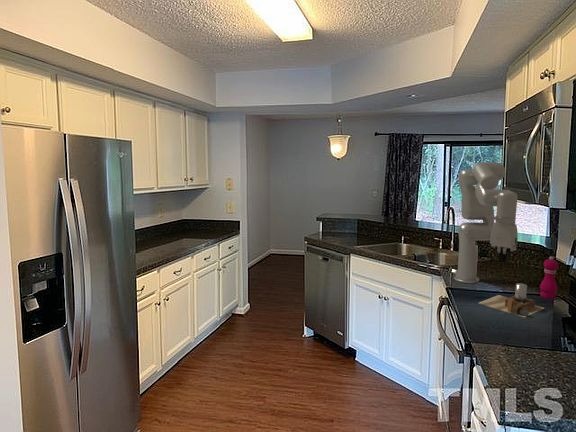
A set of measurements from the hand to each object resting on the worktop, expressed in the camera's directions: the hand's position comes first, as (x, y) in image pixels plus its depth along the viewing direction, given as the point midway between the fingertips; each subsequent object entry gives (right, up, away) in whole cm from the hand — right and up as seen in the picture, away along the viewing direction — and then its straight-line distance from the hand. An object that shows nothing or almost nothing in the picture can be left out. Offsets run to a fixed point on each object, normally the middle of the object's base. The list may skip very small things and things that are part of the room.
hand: (502, 261), depth 191 cm
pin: (+5, -21, -3) cm, 22 cm away
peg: (+10, -20, +4) cm, 23 cm away
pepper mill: (+32, -19, +20) cm, 42 cm away
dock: (+6, -21, +6) cm, 23 cm away
